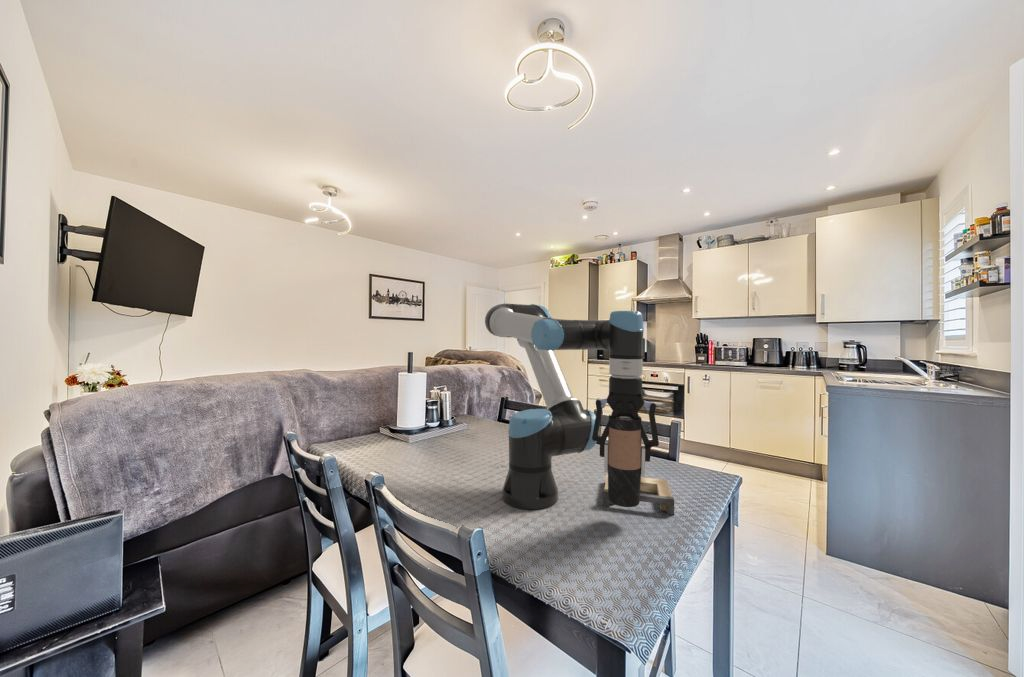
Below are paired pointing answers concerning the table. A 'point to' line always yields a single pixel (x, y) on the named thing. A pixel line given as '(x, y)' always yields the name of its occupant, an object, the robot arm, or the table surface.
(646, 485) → the wooden arch frame
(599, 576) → the table surface
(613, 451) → the travel mug
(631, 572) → the table surface
